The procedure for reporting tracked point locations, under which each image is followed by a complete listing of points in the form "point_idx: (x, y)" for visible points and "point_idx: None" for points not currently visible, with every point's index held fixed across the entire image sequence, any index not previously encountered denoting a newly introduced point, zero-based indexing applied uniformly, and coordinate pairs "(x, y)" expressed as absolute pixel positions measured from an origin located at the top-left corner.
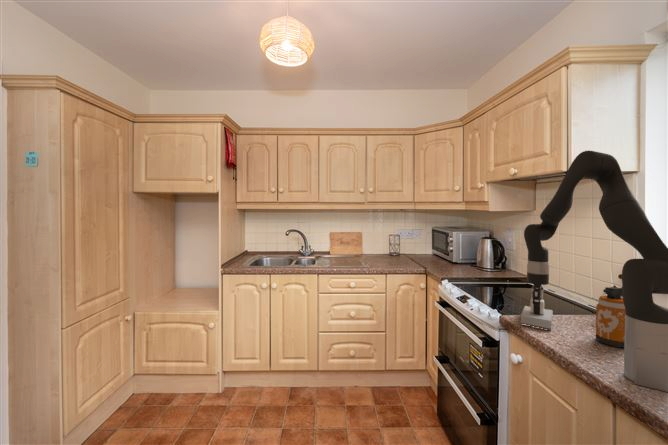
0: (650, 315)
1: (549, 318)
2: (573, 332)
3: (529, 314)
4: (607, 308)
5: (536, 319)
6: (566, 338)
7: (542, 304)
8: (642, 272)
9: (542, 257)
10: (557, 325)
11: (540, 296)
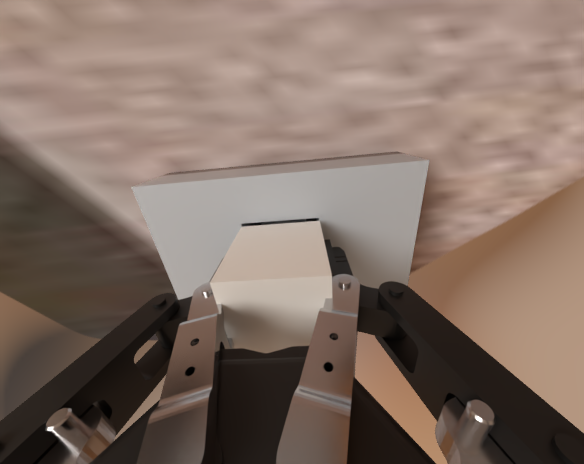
0: None
1: (370, 177)
2: (340, 27)
3: None
4: None
5: (412, 237)
6: (491, 56)
7: (328, 268)
8: None
9: None
10: (262, 135)
11: (220, 336)
